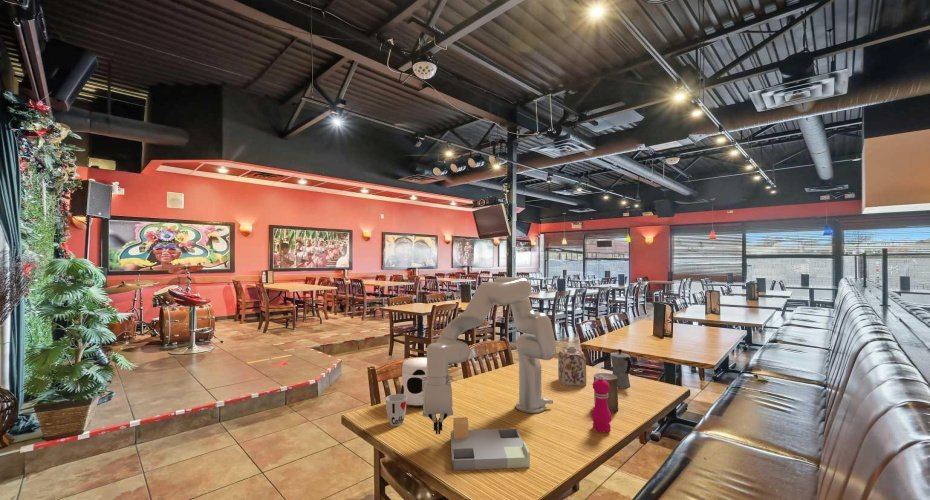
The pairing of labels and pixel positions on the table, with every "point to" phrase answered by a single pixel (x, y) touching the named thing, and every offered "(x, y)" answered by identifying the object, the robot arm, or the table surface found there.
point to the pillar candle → (610, 390)
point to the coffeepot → (621, 368)
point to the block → (460, 427)
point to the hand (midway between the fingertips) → (438, 432)
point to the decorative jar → (572, 367)
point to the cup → (396, 408)
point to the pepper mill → (601, 406)
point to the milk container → (414, 380)
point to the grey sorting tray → (489, 450)
